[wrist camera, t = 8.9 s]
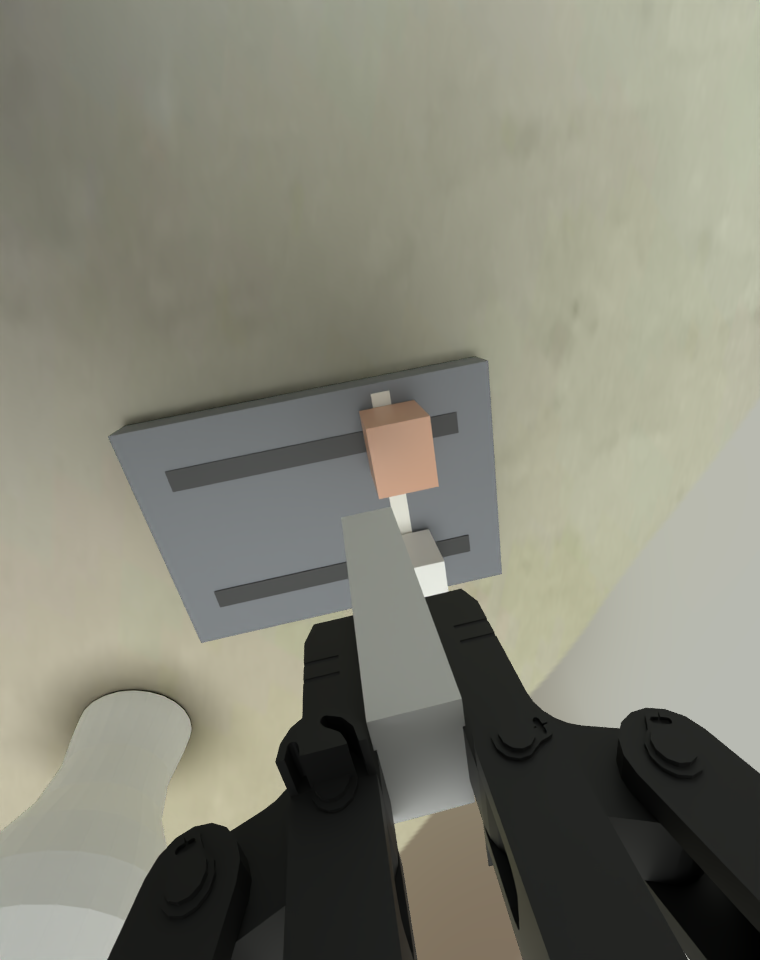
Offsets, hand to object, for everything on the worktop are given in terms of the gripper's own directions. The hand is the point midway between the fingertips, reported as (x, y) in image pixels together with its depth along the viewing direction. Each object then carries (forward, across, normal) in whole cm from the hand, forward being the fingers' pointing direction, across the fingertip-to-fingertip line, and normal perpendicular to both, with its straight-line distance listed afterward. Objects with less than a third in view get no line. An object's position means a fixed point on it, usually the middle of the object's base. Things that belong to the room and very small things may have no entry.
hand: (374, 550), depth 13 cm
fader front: (+11, +2, 0) cm, 11 cm away
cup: (+14, -20, -19) cm, 31 cm away
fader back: (+11, +2, -8) cm, 14 cm away
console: (+13, -2, -4) cm, 14 cm away
